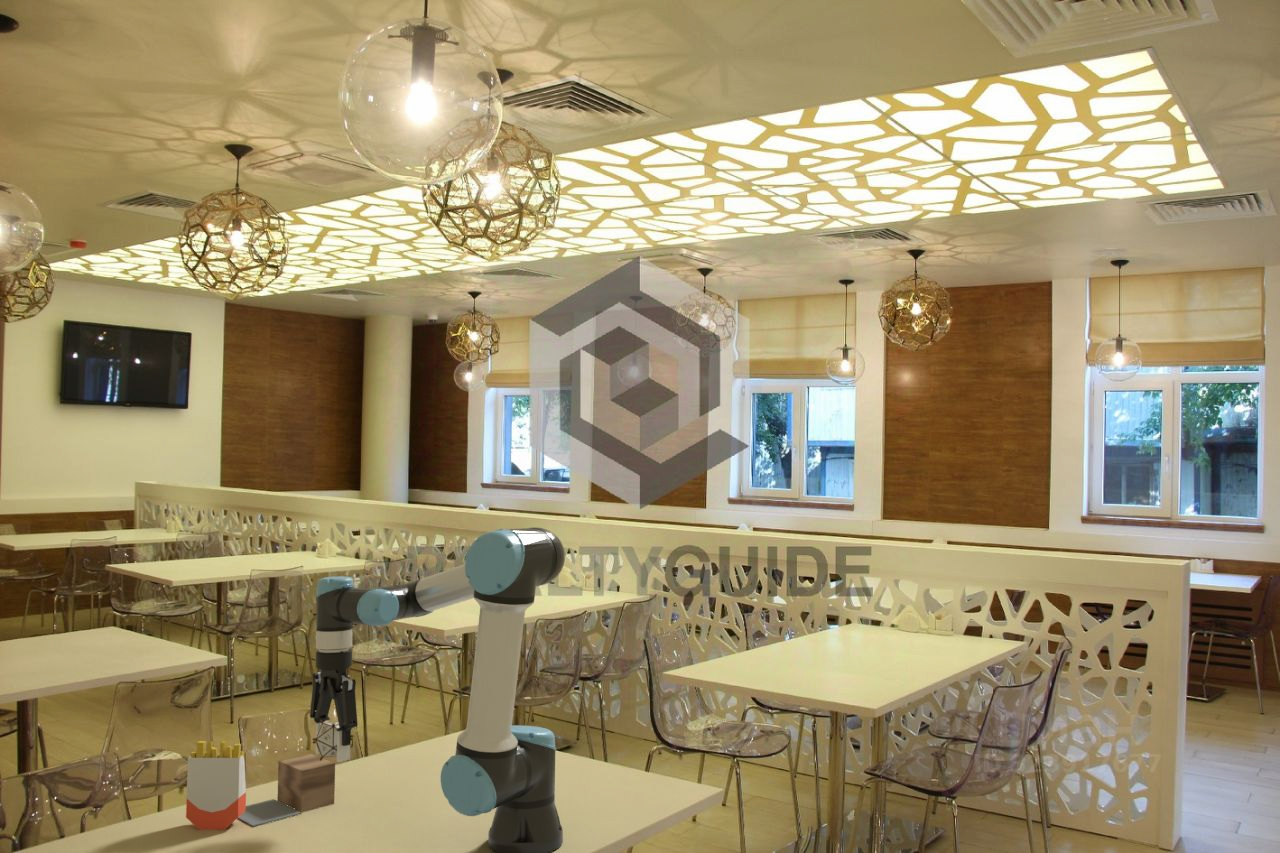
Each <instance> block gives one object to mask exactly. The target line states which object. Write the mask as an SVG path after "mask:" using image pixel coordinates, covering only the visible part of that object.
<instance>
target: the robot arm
mask: <svg viewBox="0 0 1280 853" xmlns="http://www.w3.org/2000/svg"><path fill="white" fill-rule="evenodd" d="M565 560H566V553H565V548H564V546H563V543H562V541H561V539H560V538H559V537H558V536H557V535H556V534H555V533H553V532H552V531H550V530H548V529H546V528H542V527H535V526H534V527H527V528H500V529H496V530H493V531H487V532H485V533H483V534H480V536H478V537H477V538H476V539H475V540H474V541H473V542H472V544H471V545H470V546H469V548H468V550H467V553H466V555H465V560H464V564H460V565H458V566H455V567H452V568H449V569H447V570H444V571H441V572H438V573H434V574H431V575H429V576H426V577H423V578H419V579H417V580H414V581H411V582H407V583H402V584H396V585H386V586H378V587H369V588H365V587H364V588H362V587H355V585H354V579H353V578H352V577H351V576H344V575H343V576H340V575H339V576H338V575H337V576H326V577H322V578H320V579H319V580H318V581H317V585H316V596H315V599H316V603H315V604H316V608H315V609H316V615H315V616H316V617H315V618H316V619H315V621H316V624H315V626H316V629H315V649H316V650H317V651H316V652H315V668H316V669H317V670H320V671H319V672H314V673H312V690H311V691H312V692H311V701H310V702H311V703H310V710H309V711H310V712H309V717H310V718H311V719H313V720H314V723H315V738H316V737H317V735H318V732H319V730H320V727H321V725H322V723H321V722H320V720H322V721H323V723H329V722H330V719H331V718H330V717H329V712H330V709H331V704H332V700H333V702H334V707H335V712H336V717H337V722H339V727H340V728H338V729H337V756H336V763H340V762H344V761H345V762H346V761H350V760H351V742H352V741H351V735H352V732H351V731H352V729H353V728H357V727H358V712H357V702H356V701H357V700H356V699H357V698H356V679H355V678H354V679H353V678H352V679H350V678H349V676H348V672H347V670H348V669H350V668H351V667H352V666H353V650H352V649H351V648H352V647H353V634H354V632H353V628H354V627H353V624H354V625H355V624H356V625H363V626H370V627H378V626H379V627H384V626H385V627H386V626H388V625H390V624H391V623H392V622H395V621H399V620H403V619H411V618H419V617H424V616H427V615H430V614H432V613H433V612H434V611H437V610H440V609H444V608H446V607H450V606H453V605H456V604H459V603H462V602H465V601H468V600H472V599H474V601H476V603H477V604H478V605H479V607H480V609H479V615H478V616H479V617H478V625H477V633H476V634H477V635H476V642H475V643H476V644H475V652H474V659H473V660H474V661H473V670H472V678H471V685H470V686H471V687H470V694H469V696H470V697H469V704H468V711H467V712H468V713H467V722H466V728H465V729H464V730H463V731H462V732H461V733H459V734H458V736H457V737H456V738H457V739H456V747H455V754H454V755H451V756H450V757H449V758H448V759H447V760H446V762H444V764H443V765H442V768H441V770H440V787H441V790H442V793H443V795H444V797H445V799H446V800H447V801H448V804H449V805H450V806H451V807H452V808H453V809H454V810H455V811H456V812H458V813H460V814H461V815H463V816H465V817H466V816H467V817H477V816H479V815H482V814H488V813H491V811H493V810H494V809H495V812H494V815H493V819H492V824H491V827H489V830H488V834H487V837H488V838H487V846H488V848H489V849H490V850H491V851H493V852H495V853H551V852H553V850H554V851H555V849H556V850H557V849H559V848H560V847H561V846H562V845H561V844H563V842H564V837H563V836H564V831H563V830H564V829H563V827H562V824H561V821H560V816H559V812H558V810H557V807H556V802H555V798H556V796H555V795H556V794H555V793H556V787H555V786H556V752H557V748H556V739H555V737H556V736H555V734H554V732H553V731H551V730H550V729H548V728H544V727H540V726H534V725H513V721H514V720H513V719H514V709H515V701H516V694H517V693H516V692H517V684H518V676H519V675H518V674H519V667H520V659H521V650H522V641H523V632H524V625H525V624H524V622H525V614H526V610H527V609H529V608H530V607H531V606H532V605H534V603H535V597H536V596H535V595H536V589H537V588H536V587H540V586H544V585H547V584H549V583H551V582H552V581H554V580H555V579H556V578H557V577H558V576H559V575H560V574H561V572H562V570H563V569H564V565H565ZM315 755H316V756H318V755H321V754H320V752H319V749H318V747H317V745H316V744H315ZM560 845H561V846H560Z"/></svg>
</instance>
